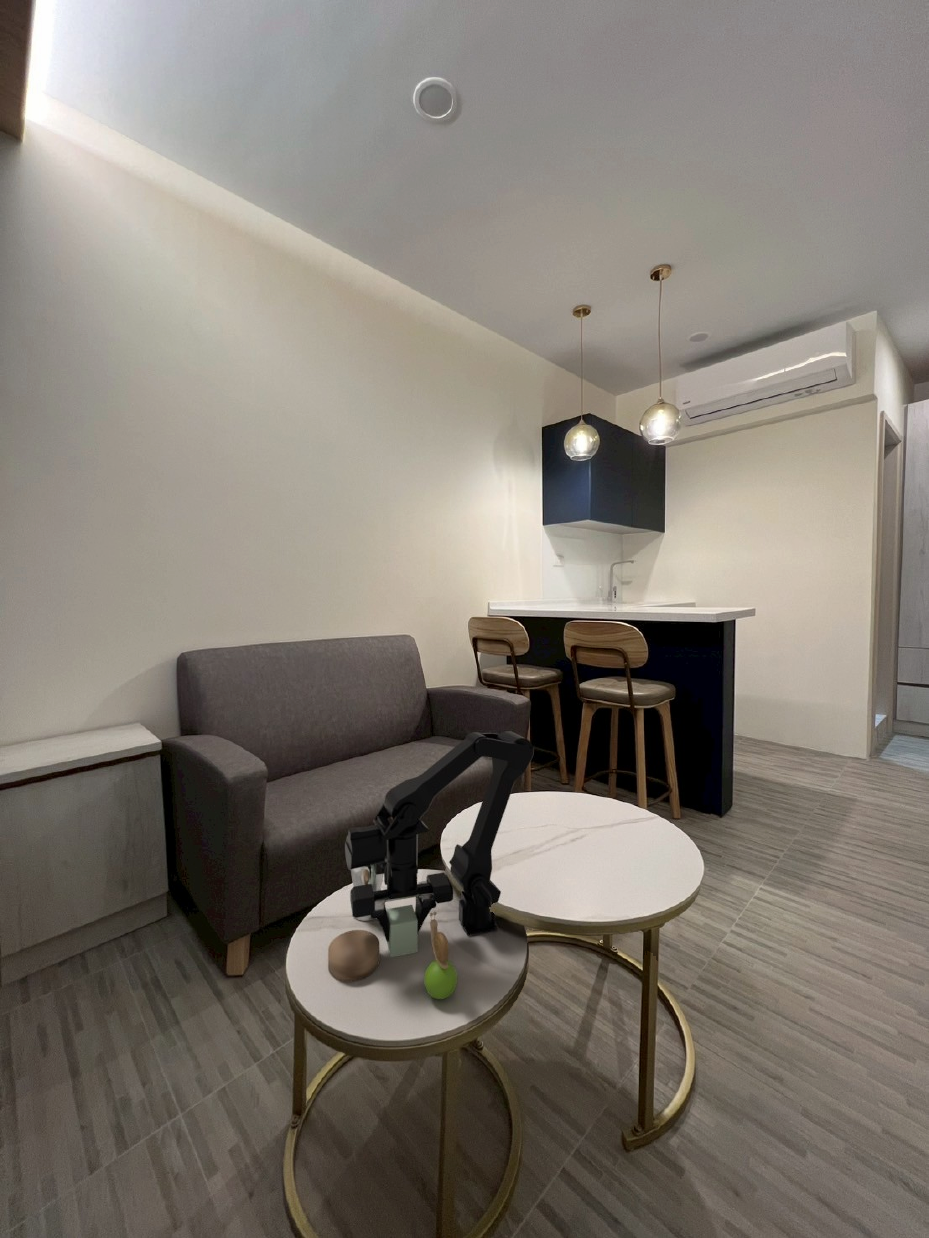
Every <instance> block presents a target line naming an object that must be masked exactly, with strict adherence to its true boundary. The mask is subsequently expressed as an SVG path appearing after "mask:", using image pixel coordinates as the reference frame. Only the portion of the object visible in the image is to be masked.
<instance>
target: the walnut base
mask: <svg viewBox="0 0 929 1238" xmlns="http://www.w3.org/2000/svg"><path fill="white" fill-rule="evenodd" d="M327 950H328V951H327V954H328V955H327V957H328V958H327V961H328V962H327V964H328V965H327V969H328V972H329V974H330V975H331V977H333V978H334V979H336V980H337V981H341V982H348V983H349V982H357V981H360V980H363V979H364V980H365V978H367V977H369V976H371V975H372V974H373V973H374V972H376V970H377V968H378V967H379V963H380V940H379V938H378V936H377V935H376V934H374V933H373V932H371V931H368V930H364V929H352V930H348V931H345V932H343V933H341V934H339V935H338V936H336V937H335V938H334V939H332V941H331V942H330V943H329V946H328V948H327Z"/></svg>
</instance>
